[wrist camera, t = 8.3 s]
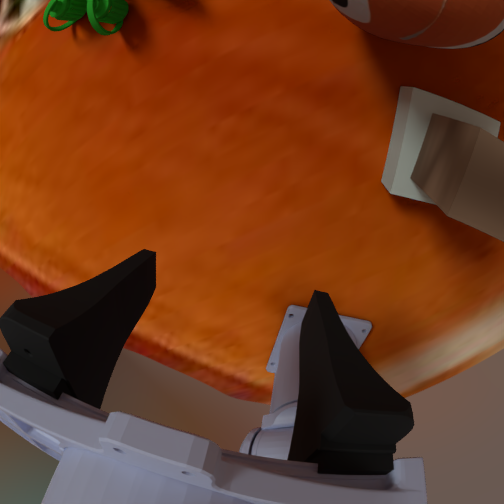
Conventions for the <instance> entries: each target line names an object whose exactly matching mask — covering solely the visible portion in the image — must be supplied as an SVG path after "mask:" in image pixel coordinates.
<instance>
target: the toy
mask: <svg viewBox="0 0 504 504" xmlns="http://www.w3.org/2000/svg"><path fill="white" fill-rule="evenodd" d="M330 1H331V3H332V4H333V5H334V6H335V8H336V9H337V10H338V11H339V12H340V13H341V14H342V15H343V16H345V17H346V18H347V19H348V20H349V21H351V22H352V23H353V24H355V25H356V26H358V27H359V28H361V29H362V30H364V31H366V32H368V33H370V34H372V35H375V36H377V37H380V38H383V39H387V40H391V41H395V42H399V43H404V44H410V45H417V46H425V47H433V48H447V49H456V48H467V47H472V46H476V45H479V44H482V43H485V42H487V41H489V40H491V39H493V38H494V37H496V36H497V35H499V34H500V33H501V32H502V31H503V30H504V0H330Z"/></svg>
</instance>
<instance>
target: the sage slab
mask: <svg viewBox="0 0 504 504" xmlns="http://www.w3.org/2000/svg"><path fill="white" fill-rule="evenodd" d="M432 113H434V114H438V115H442V116H445V117H449V118H452V119H456V120H459V121H462V122H465V123H468V124H472V125H475V126H478V127H481V128H482V129H484V130H486V131H487V132H489V133H490V134H492V135H494V136H495V137H497V138H498V133H499V128H500V123H501V122H499V121H497V120H495V119H493V118H491V117H489V116H486V115H484V114H482V113H480V112H478V111H475V110H473V109H471V108H468V107H466V106H464V105H461V104H459V103H456V102H454V101H451V100H449V99H446V98H443V97H441V96H438V95H435V94H432V93H430V92H427V91H424V90H421V89H418V88H415V87H405V86H400V92H399V98H398V104H397V110H396V115H395V120H394V126H393V131H392V136H391V140H390V145H389V150H388V154H387V159H386V163H385V168H384V172H383V176H382V180H381V182H382V183H383V184H384V186H385V187H386V188H387V190H388V191H389V193H390V194H394V195H398V196H403V197H407V198H411V199H415V200H419V201H423V202H427V203H431V204H435V203H434V202H433V200H432V199H431V198H430V197H429V196H428V195H427V194H426V193H425V192H424V191H423V190H422V189H421V188H420V187H419V186H418V185H417V184H416V183H415V182H414V181H413V180H412V179H411V178H410V177H411V174H412V172H413V169H414V166H415V164H416V161H417V158H418V155H419V152H420V150H421V147H422V144H423V141H424V138H425V135H426V132H427V129H428V126H429V123H430V119H431V116H432ZM435 205H436V204H435Z"/></svg>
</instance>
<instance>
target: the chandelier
mask: <svg viewBox="0 0 504 504" xmlns="http://www.w3.org/2000/svg"><path fill="white" fill-rule="evenodd" d="M111 6H112V7H111ZM110 8H111V9H110ZM109 10H110V11H109ZM86 11H87V14H88V18H89V21H90V23H91V25H92V27H93V28H94V29H95V30H96V31H97V32H98V33H99V34H101V35H110V34H114V33H116V32H118V31H119V30H120V28H121V27H122V24H123V19H124V18H125V17H126V15H127V13H128V3H127V2H126V1H125V0H51V1H50V2H49V4H48V6H47V7H46V10H45V12H44V16H43V22H44V25H45V26H46V27H47V28H48V29H50V30H51V31H61V30H64V29H66V28H68V27H69V26H71V25H72V24H73V23H75V22H76V21H77V20H78V19H80V18H81V17H83V16H84V14H85V13H86ZM108 12H109V13H108ZM49 14H50V16H51V17H55V18H56V19H57V20H66V21H68V22H67V23H65V24H64V25H61V26H59V27H50V26H49V23H48V17H49ZM99 22H104V23H110V24H115V23H117V24H116V26H115V28H114V29H113V30H112V31H107V30H105V29H104V28H103V27H102V26H101V25H100V24H99Z"/></svg>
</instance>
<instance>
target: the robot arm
mask: <svg viewBox="0 0 504 504" xmlns="http://www.w3.org/2000/svg"><path fill="white" fill-rule="evenodd" d="M155 288H156V252H153V251H149V250H146V249H143V250H141V251H139V252H138V253H136V254H134V255H133V256H131V257H129V258H128V259H126V260H124V261H123V262H121V263H119V264H118V265H116V266H114V267H113V268H111V269H109V270H107V271H105V272H103V273H101V274H100V275H98V276H96V277H94V278H92V279H90V280H88V281H85V282H83V283H81V284H78V285H76V286H73V287H70V288H67V289H64V290H61V291H59V292H55V293H52V294H48V295H44V296H39V297H34V298H28V299H21V300H16V301H15V302H14V303H13V304H12V305H11V306H10V307H9V308H8V310H7V311H6V312H5V313H4V314H3V315H2V316H1V318H0V329H1V331H2V334H3V336H4V338H5V339H6V341H7V343H8V345H9V347H10V349H11V352H10V353H9V355H7V354H6V353H5V352H4V351H3V350H1V349H0V421H1V422H2V423H4V424H5V425H7V426H8V427H9V428H11V429H12V430H13V431H15V432H16V433H17V434H19V435H20V436H22V437H23V438H24V439H26V440H28V441H29V442H30V443H32V444H33V445H35V446H36V447H38V448H39V449H41V450H42V451H44V452H45V453H47V454H49V455H50V456H52V457H54V458H55V459H57V460H58V461H60V462H59V464H58V467H57V469H56V471H55V473H54V475H53V477H52V480H51V482H50V484H49V487H48V489H47V491H46V494H45V496H44V498H43V501H42V503H41V504H427V492H426V481H425V471H424V463H423V458H422V457H413V458H399V459H395V460H393V453H395V452H396V443H397V442H398V441H400V440H401V439H402V438H403V437H405V436H406V435H407V434H408V433H409V432H410V431H411V430H412V429H413V426H414V420H413V412H412V408H411V404H410V402H409V401H407V400H406V399H405V398H404V397H403V396H401V395H400V394H399V393H398V392H396V391H395V390H394V389H393V388H392V387H391V386H390V385H389V384H388V383H387V382H385V381H384V380H383V378H382V377H381V376H380V375H379V374H378V373H377V372H376V371H375V370H374V369H373V368H372V366H371V365H370V364H369V363H368V362H367V360H366V359H365V358H364V356H363V355H362V354H361V352H360V351H359V348H360V347H361V345H362V343H363V342H364V340H365V338H366V337H367V335H368V333H369V332H370V330H371V328H372V324H371V322H370V321H366V320H361V319H356V318H351V317H346V316H341V315H338V313H337V311H336V309H335V307H334V305H333V302H332V300H331V298H330V296H329V294H328V293H326V292H321V291H317V290H314V293H313V295H312V298H311V300H310V303H309V305H308V308H305V307H300V306H296V305H291V306H289V307H288V308H287V311H286V314H285V317H284V320H283V323H282V325H281V328H280V331H279V334H278V337H277V339H276V342H275V345H274V348H273V350H272V353H271V356H270V358H269V361H268V364H267V367H266V370H267V371H268V372H271V373H275V378H274V385H273V392H272V399H271V406H270V413H269V414H268V415H264V416H263V420H262V427H257V428H254V429H252V430H251V431H250V432H249V433H248V434H247V436H246V438H245V439H244V441H243V443H242V445H241V448H240V451H239V452H234V451H230V450H225V449H221V448H220V447H219V446H218V445H217V444H216V443H214V442H213V441H211V440H209V439H207V438H205V437H202V436H199V435H196V434H193V433H189V432H186V431H182V430H179V429H175V428H172V427H169V426H165V425H162V424H159V423H156V422H153V421H150V420H147V419H144V418H141V417H139V416H136V415H133V414H129V413H126V412H122V411H118V412H111V413H107V412H105V411H102V410H100V408H101V404H102V401H103V398H104V394H105V392H106V389H107V386H108V383H109V380H110V377H111V375H112V372H113V370H114V367H115V364H116V362H117V360H118V357H119V355H120V353H121V350H122V348H123V346H124V344H125V342H126V340H127V339H128V337H129V335H130V334H131V332H132V330H133V329H134V327H135V325H136V324H137V322H138V321H139V319H140V317H141V316H142V314H143V312H144V311H145V309H146V307H147V306H148V304H149V302H150V300H151V297H152V295H153V293H154V290H155ZM289 314H293V315H289ZM364 329H366V330H364Z"/></svg>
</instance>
